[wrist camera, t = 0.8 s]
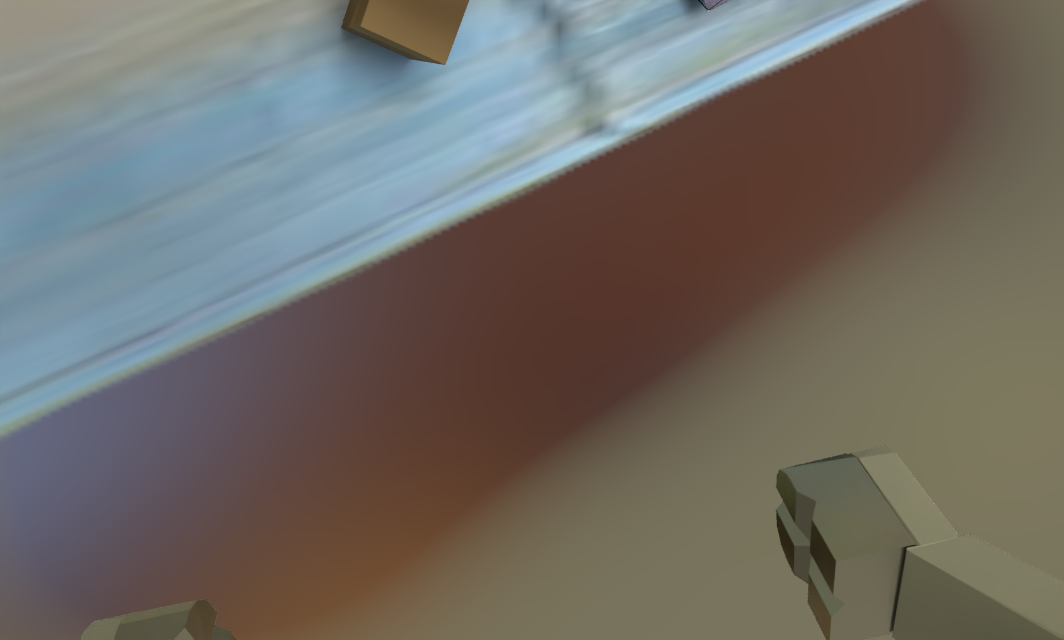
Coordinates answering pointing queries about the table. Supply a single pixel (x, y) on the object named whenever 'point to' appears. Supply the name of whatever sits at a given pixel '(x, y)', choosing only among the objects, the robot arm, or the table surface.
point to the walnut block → (408, 25)
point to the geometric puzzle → (712, 3)
